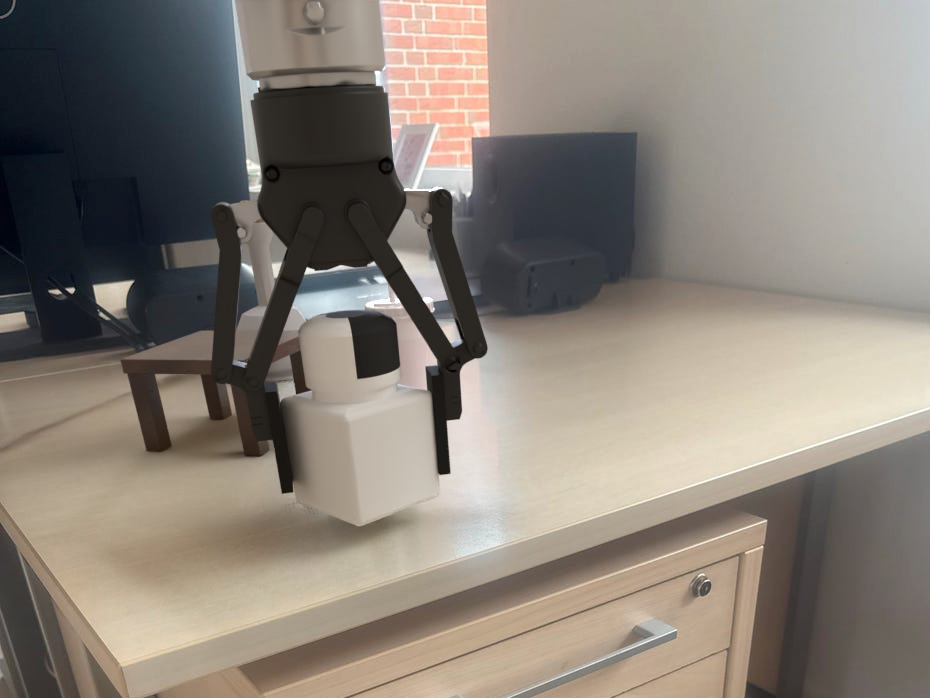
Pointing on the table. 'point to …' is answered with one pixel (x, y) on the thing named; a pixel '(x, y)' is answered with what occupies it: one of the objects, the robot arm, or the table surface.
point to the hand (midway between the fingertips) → (365, 477)
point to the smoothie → (407, 340)
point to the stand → (196, 360)
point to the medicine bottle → (358, 422)
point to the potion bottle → (267, 296)
